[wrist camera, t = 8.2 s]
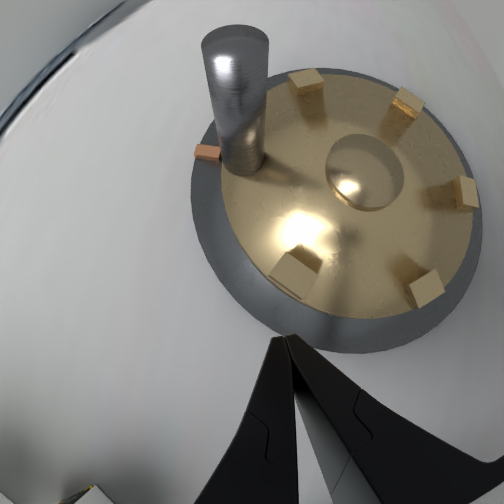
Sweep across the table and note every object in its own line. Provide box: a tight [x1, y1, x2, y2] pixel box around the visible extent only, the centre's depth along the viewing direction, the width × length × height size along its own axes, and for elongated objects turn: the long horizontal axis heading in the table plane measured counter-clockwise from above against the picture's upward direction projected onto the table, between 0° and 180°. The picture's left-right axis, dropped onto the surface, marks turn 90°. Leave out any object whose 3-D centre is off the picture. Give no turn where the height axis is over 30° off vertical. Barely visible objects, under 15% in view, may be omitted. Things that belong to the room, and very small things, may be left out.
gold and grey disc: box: [191, 68, 482, 354], centre depth 24 cm, size 26×26×2 cm
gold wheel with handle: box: [201, 25, 479, 319], centre depth 17 cm, size 21×21×12 cm
